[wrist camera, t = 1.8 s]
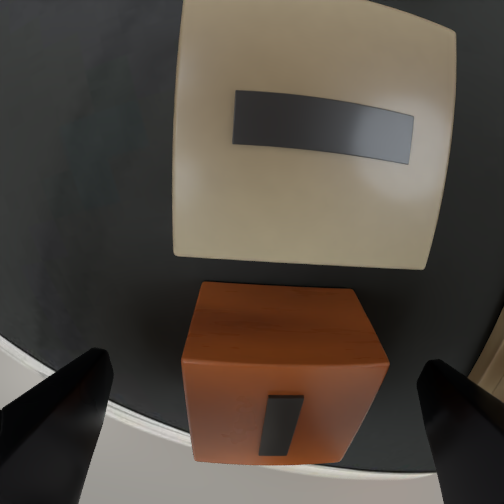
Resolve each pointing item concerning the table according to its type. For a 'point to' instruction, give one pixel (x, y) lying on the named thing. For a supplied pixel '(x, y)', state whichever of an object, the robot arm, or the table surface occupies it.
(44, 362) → the table surface
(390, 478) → the table surface
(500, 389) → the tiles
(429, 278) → the table surface
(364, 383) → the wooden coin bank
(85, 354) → the robot arm
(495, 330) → the pattern board
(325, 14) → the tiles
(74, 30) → the table surface
